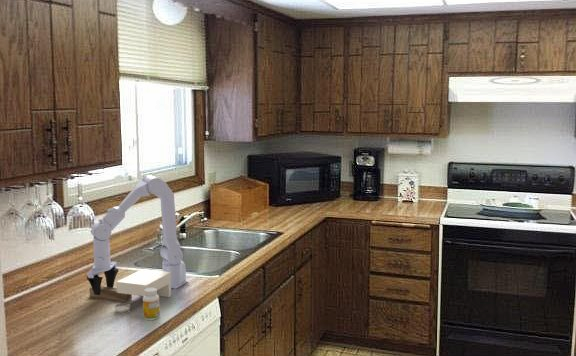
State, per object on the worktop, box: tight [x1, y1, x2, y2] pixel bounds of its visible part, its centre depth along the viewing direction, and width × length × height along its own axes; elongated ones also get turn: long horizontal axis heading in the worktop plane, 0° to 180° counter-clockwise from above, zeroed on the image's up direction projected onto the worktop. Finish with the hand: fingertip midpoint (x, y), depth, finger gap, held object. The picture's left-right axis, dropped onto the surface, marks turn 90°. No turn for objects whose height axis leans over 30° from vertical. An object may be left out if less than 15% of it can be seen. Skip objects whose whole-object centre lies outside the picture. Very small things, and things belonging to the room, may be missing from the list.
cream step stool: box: [116, 268, 172, 298], centre depth 208 cm, size 16×12×9 cm
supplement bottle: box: [142, 288, 161, 321], centre depth 192 cm, size 5×5×10 cm
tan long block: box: [89, 285, 133, 302], centre depth 212 cm, size 3×16×4 cm, turn 71°
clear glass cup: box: [114, 302, 131, 314], centre depth 199 cm, size 5×5×2 cm
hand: (103, 291), depth 213 cm, fingers open, 7 cm apart
